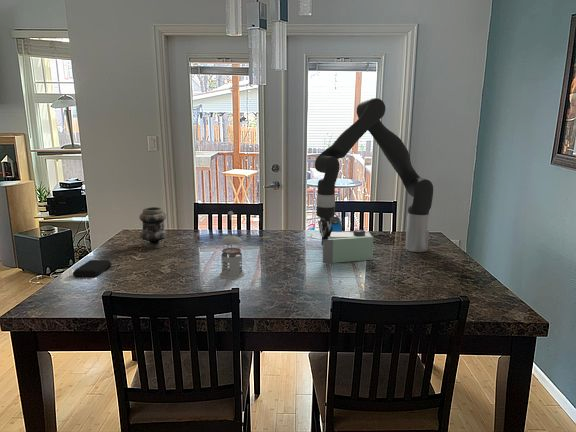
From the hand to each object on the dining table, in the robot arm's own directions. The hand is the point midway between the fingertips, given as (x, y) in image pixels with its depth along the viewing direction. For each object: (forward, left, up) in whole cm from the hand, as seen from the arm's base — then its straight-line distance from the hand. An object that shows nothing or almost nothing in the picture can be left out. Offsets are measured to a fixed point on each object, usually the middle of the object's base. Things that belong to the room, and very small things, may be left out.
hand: (324, 245), depth 178 cm
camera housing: (-11, -8, -7) cm, 15 cm away
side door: (-10, 0, -7) cm, 12 cm away
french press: (+37, +16, -7) cm, 41 cm away
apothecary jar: (+79, -19, -7) cm, 81 cm away
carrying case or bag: (+90, +17, -8) cm, 92 cm away
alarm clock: (-5, -26, -7) cm, 27 cm away
